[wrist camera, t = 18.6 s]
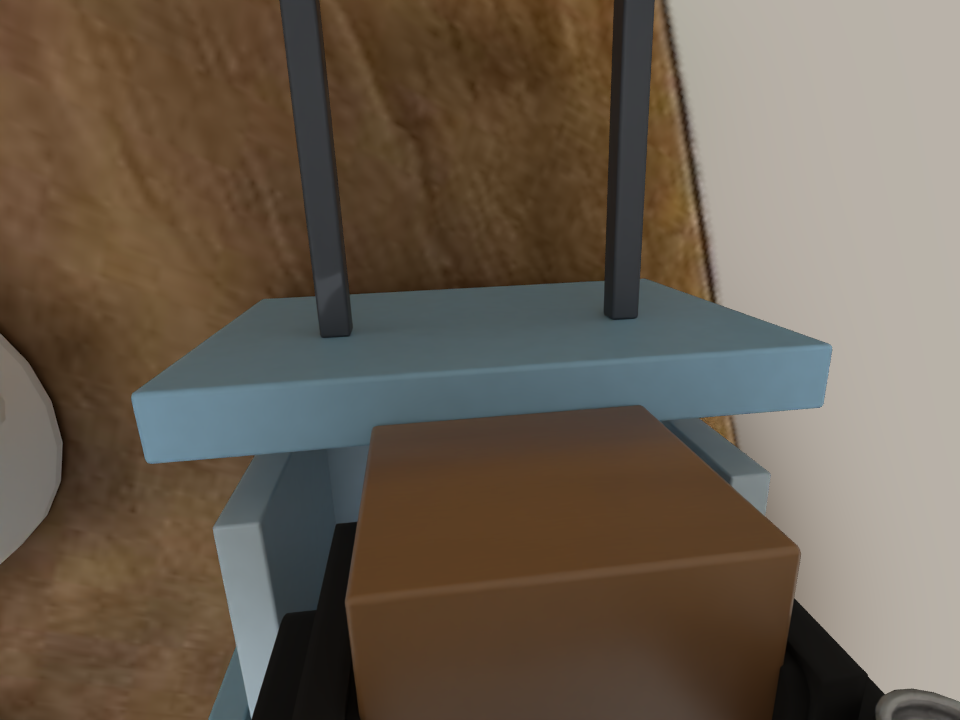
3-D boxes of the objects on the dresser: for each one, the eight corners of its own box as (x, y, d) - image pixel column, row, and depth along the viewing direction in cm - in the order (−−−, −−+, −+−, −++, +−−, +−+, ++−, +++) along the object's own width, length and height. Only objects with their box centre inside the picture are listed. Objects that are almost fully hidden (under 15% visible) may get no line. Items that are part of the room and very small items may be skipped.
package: (371, 424, 9) (342, 600, 5) (642, 403, 9) (806, 549, 5) (399, 712, 10) (394, 1007, 7) (626, 683, 11) (741, 941, 7)
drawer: (213, -16, 13) (-32, -282, 6) (663, -13, 15) (928, -228, 7) (317, 675, 19) (262, 969, 12) (626, 635, 21) (748, 879, 13)
